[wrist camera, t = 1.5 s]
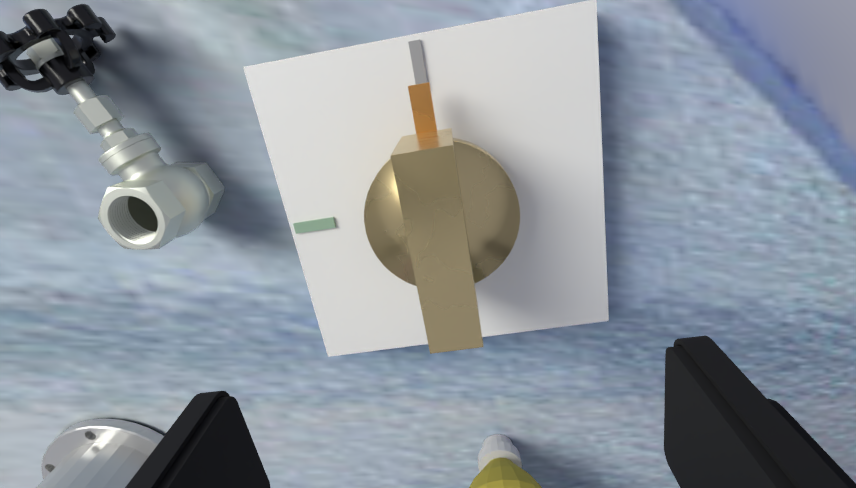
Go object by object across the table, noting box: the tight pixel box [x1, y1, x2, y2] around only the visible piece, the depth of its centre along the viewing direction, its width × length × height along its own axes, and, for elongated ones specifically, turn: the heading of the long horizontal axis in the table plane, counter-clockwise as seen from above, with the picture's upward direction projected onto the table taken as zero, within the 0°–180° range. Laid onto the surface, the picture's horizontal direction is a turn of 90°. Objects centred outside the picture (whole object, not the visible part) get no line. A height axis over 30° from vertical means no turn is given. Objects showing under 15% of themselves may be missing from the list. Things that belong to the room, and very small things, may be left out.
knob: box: [364, 82, 520, 354], centre depth 22 cm, size 11×8×8 cm
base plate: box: [243, 0, 609, 357], centre depth 28 cm, size 18×18×3 cm
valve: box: [0, 4, 225, 249], centre depth 26 cm, size 7×7×12 cm
